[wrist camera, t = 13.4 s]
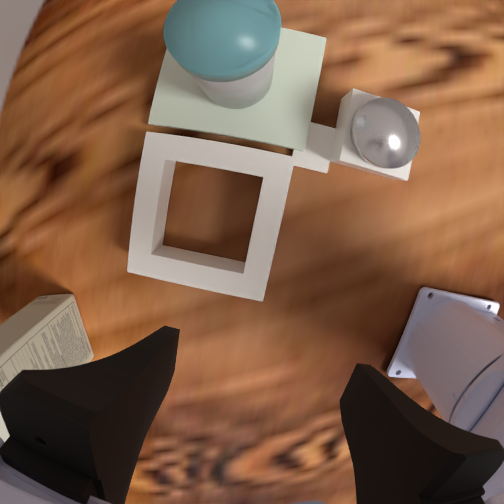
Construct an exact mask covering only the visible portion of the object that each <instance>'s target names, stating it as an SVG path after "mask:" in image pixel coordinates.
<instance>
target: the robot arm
mask: <svg viewBox="0 0 504 504" xmlns="http://www.w3.org/2000/svg"><path fill="white" fill-rule="evenodd" d="M429 293H431V296H430V297H428V295H429ZM488 305H489V306H488ZM487 306H488V307H487ZM498 309H499V303H497V302H496V301H491V300H486V299H481V298H476V297H471V296H467V295H462V294H457V293H452V292H447V291H443V290H438V289H433V288H428V287H423V288H421V289H420V291H419V293H418V296H417V298H416V301H415V304H414V307H413V309H412V312H411V315H410V317H409V320H408V322H407V325H406V327H405V330H404V332H403V335H402V337H401V339H400V342H399V344H398V347H397V349H396V351H395V353H394V356H393V358H392V360H391V362H390V365H389V367H388V369H387V374H388V376H390V377H401V378H417V379H418V381H419V382H420V384H421V385H422V387H423V389H424V390H425V392H426V393H427V395H428V396H429V398H430V400H431V401H432V403H433V404H434V406H435V407H436V409H437V411H438V412H439V414H440V416H441V417H442V419H443V420H442V419H440V418H438V417H437V416H435V415H433V414H432V413H430V412H429V411H427V410H425V409H424V408H423V407H421V406H420V405H418V404H417V403H416V402H414V401H413V400H412V399H411V398H409V397H408V396H407V395H406V394H404V393H403V392H402V391H401V390H400V389H398V388H397V387H396V386H395V385H394V384H393V383H391V382H390V381H389V380H388V379H387V378H386V377H385V376H383V375H382V374H381V373H380V372H379V371H378V370H376V369H375V368H374V367H372V366H371V365H367V364H359V363H357V364H356V366H355V369H354V371H353V373H352V375H351V378H350V380H349V382H348V384H347V386H346V388H345V390H344V393H343V395H342V397H341V399H340V409H341V418H342V423H343V427H344V431H345V435H346V439H347V443H348V446H349V450H350V454H351V458H352V462H353V467H354V474H355V484H356V498H357V504H504V320H503V319H501V318H500V317H499V316H497V315H496V314H497V312H498ZM179 332H180V329H176V328H172V327H168V326H163V327H162V328H160V329H158V330H157V331H155V332H154V333H152V334H151V335H149V336H147V337H146V338H144V339H142V340H141V341H139V342H137V343H136V344H134V345H132V346H130V347H128V348H126V349H124V350H122V351H120V352H118V353H116V354H113V355H111V356H108V357H106V358H103V359H100V360H97V361H93V362H89V363H85V364H81V365H77V366H72V367H66V368H58V369H46V370H22V371H21V372H20V373H18V374H17V375H16V376H15V377H14V378H13V379H12V380H11V381H10V382H9V383H8V384H7V385H6V386H5V387H4V388H3V389H2V390H1V392H0V412H1V415H2V418H3V420H4V423H5V425H6V428H7V430H8V433H9V435H10V436H9V438H8V439H7V440H6V441H5V442H4V441H3V440H2V438H1V437H0V504H125V500H126V496H127V493H128V489H129V486H130V482H131V479H132V475H133V472H134V469H135V466H136V463H137V460H138V456H139V454H140V451H141V448H142V445H143V442H144V439H145V436H146V434H147V432H148V430H149V428H150V426H151V423H152V421H153V419H154V417H155V415H156V413H157V411H158V409H159V407H160V405H161V403H162V401H163V399H164V397H165V395H166V393H167V391H168V389H169V386H170V383H171V380H172V377H173V374H174V371H175V363H176V355H177V347H178V339H179ZM398 370H399V372H397V371H398ZM396 372H397V373H396Z"/></svg>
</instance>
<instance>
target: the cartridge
mask: <svg viewBox="0 0 504 504" xmlns="http://www.w3.org/2000/svg"><path fill="white" fill-rule="evenodd" d="M280 31H281V16H280V12H279V10H278V7H277V5H276V4H275V2H274V1H273V0H177V1H176V2H175V4H174V5H173V6H172V8H171V9H170V11H169V12H168V14H167V17H166V19H165V23H164V29H163V35H164V41H165V45H166V47H167V49H168V51H169V52H170V54H171V55H172V56H173V58H174V59H175V60H176V61H177V62H178V64H179V65H180V66H181V67H182V68H183V69H184V70H185V71H186V72H188V73H189V74H190V75H191V76H192V77H193V79H194V80H195V81H196V82H197V84H198V85H199V86H200V87H201V89H202V90H203V91H204V93H205V94H206V95H207V96H208V98H209V99H210V100H211V101H213V102H214V103H215V104H217V105H219V106H221V107H224V108H228V109H243V108H247V107H250V106H252V105H254V104H256V103H258V102H259V101H260V100H262V99H263V98H264V97H265V95H266V94H267V93H268V91H269V89H270V87H271V83H272V77H273V68H274V60H275V52H276V50H277V47H278V44H279V38H280Z"/></svg>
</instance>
